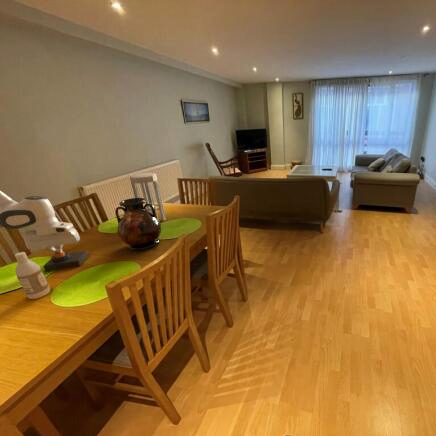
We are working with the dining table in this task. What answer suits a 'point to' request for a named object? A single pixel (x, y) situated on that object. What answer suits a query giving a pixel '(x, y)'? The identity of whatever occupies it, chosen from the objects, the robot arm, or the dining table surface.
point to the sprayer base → (66, 261)
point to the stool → (148, 191)
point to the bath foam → (31, 277)
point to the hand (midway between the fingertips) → (58, 252)
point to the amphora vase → (138, 225)
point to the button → (59, 255)
